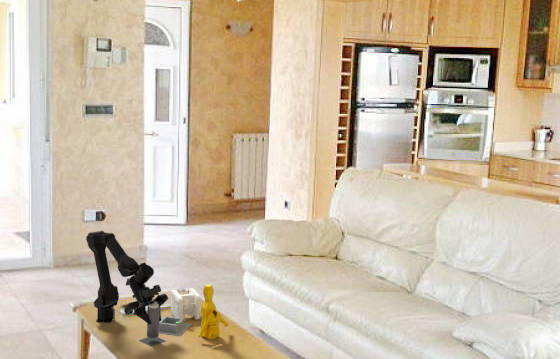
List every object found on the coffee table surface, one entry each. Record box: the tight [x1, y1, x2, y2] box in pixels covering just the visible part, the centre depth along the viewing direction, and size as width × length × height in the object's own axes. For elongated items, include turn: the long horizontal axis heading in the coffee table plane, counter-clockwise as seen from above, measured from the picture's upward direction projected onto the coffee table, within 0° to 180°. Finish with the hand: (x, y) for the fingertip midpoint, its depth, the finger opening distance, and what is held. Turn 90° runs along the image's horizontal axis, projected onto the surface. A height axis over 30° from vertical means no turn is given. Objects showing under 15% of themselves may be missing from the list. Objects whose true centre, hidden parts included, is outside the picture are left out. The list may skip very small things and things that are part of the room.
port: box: [159, 315, 193, 337], centre depth 290 cm, size 14×14×4 cm
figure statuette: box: [198, 284, 229, 340], centre depth 283 cm, size 18×8×22 cm, turn 142°
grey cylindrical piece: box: [146, 303, 161, 338], centre depth 275 cm, size 5×5×13 cm
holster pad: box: [138, 336, 167, 347], centre depth 276 cm, size 8×8×1 cm
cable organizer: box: [170, 287, 201, 321], centre depth 304 cm, size 15×11×12 cm
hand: (155, 322), depth 274 cm, fingers closed on grey cylindrical piece, 5 cm apart
